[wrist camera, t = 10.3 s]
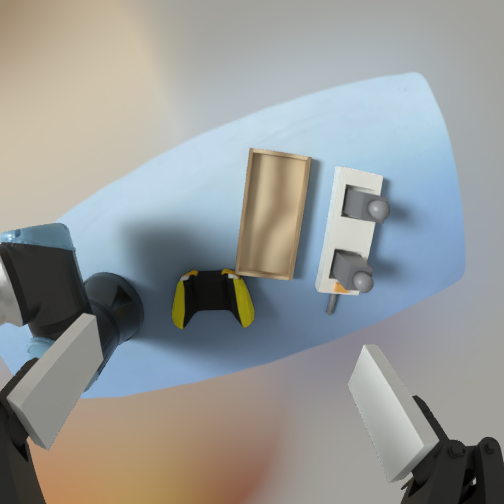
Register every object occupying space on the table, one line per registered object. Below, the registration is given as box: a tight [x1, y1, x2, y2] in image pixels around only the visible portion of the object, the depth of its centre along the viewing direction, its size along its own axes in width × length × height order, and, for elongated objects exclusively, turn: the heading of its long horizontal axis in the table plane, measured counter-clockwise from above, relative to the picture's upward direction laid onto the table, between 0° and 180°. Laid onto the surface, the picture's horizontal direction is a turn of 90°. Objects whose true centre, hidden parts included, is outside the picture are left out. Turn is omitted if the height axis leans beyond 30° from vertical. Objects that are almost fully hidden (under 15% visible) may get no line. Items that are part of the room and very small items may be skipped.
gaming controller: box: [172, 268, 255, 329], centre depth 48 cm, size 15×6×10 cm
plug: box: [342, 189, 390, 224], centre depth 40 cm, size 4×4×12 cm
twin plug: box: [330, 249, 373, 293], centre depth 43 cm, size 4×4×12 cm
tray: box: [235, 148, 311, 281], centre depth 46 cm, size 10×21×2 cm, turn 173°
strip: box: [315, 166, 383, 315], centre depth 47 cm, size 8×28×4 cm, turn 173°
